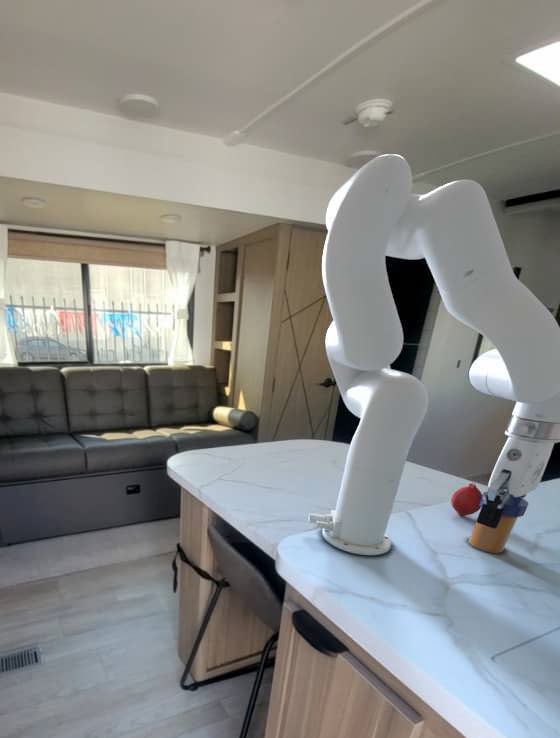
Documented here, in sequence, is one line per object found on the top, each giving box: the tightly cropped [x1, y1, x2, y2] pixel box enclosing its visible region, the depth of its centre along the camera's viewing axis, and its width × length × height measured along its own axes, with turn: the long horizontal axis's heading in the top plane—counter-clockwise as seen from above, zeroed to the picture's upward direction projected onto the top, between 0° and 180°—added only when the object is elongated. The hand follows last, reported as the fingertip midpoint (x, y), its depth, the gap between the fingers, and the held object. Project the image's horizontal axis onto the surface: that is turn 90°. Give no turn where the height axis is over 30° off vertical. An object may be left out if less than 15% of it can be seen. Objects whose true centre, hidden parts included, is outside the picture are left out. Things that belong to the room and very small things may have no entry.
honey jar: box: [468, 516, 519, 554], centre depth 77 cm, size 6×6×10 cm
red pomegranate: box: [450, 482, 483, 517], centre depth 90 cm, size 6×6×8 cm
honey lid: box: [479, 491, 529, 518], centre depth 75 cm, size 7×7×2 cm
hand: (496, 519), depth 77 cm, fingers open, 7 cm apart
